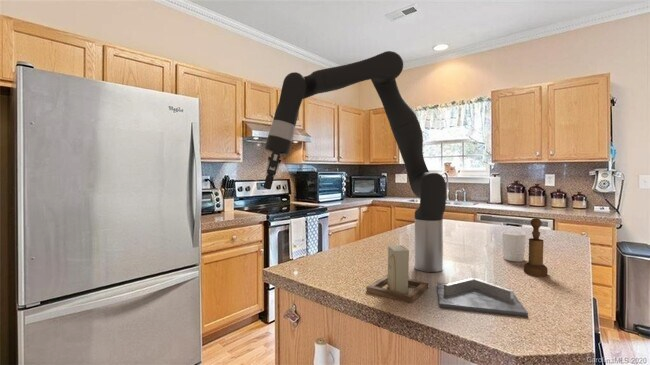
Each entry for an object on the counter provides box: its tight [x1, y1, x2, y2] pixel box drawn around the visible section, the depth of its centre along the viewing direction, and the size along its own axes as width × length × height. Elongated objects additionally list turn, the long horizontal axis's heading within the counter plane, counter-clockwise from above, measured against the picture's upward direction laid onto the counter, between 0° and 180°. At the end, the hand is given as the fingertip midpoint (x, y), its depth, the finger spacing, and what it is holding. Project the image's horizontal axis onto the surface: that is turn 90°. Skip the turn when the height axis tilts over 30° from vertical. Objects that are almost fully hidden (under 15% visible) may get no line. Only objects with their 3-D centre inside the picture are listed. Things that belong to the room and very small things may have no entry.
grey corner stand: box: [436, 277, 529, 318], centre depth 83 cm, size 16×19×4 cm
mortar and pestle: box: [523, 217, 548, 277], centre depth 104 cm, size 7×6×18 cm
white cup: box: [501, 230, 527, 263], centre depth 121 cm, size 8×8×10 cm
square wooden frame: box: [365, 274, 430, 304], centre depth 90 cm, size 13×13×2 cm
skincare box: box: [387, 244, 410, 294], centre depth 90 cm, size 6×4×12 cm
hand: (266, 188), depth 97 cm, fingers open, 8 cm apart
